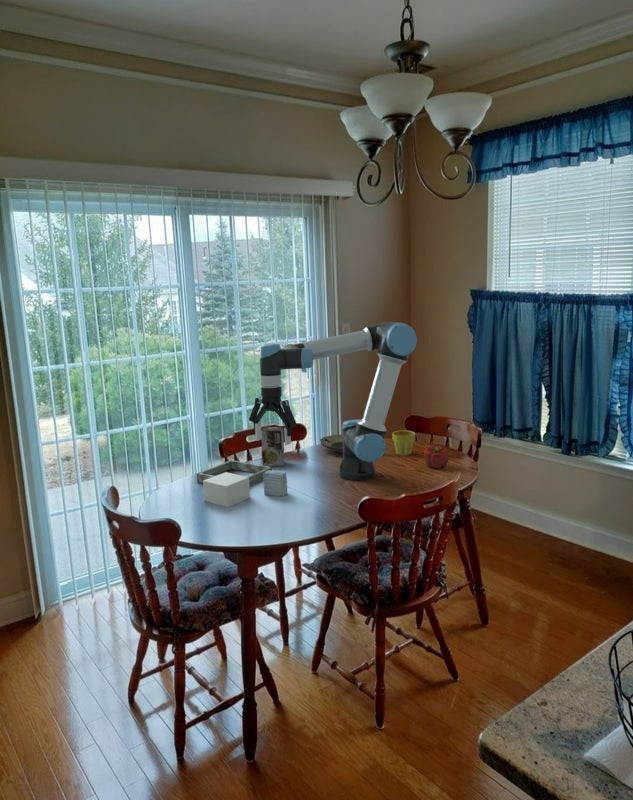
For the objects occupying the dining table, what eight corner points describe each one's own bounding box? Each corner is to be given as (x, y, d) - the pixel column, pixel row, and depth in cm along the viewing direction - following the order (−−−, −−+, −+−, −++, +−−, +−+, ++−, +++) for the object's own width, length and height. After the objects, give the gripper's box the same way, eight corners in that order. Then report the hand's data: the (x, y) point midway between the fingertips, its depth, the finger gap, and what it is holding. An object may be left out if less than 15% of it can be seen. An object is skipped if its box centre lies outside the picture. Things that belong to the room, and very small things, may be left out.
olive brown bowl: (344, 441, 302) (343, 426, 301) (388, 453, 280) (388, 437, 278) (310, 450, 288) (309, 435, 286) (354, 463, 265) (353, 446, 264)
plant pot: (409, 458, 271) (409, 436, 269) (388, 454, 277) (388, 434, 275) (418, 452, 280) (418, 431, 278) (398, 449, 285) (398, 429, 283)
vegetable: (449, 471, 250) (449, 448, 248) (424, 471, 252) (424, 448, 250) (448, 464, 261) (448, 441, 259) (423, 463, 263) (423, 441, 261)
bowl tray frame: (272, 475, 252) (272, 467, 252) (239, 490, 235) (239, 482, 234) (231, 467, 264) (231, 460, 264) (197, 481, 247) (196, 473, 246)
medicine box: (287, 493, 231) (286, 471, 229) (283, 497, 226) (282, 474, 225) (268, 491, 233) (267, 469, 231) (263, 495, 229) (262, 473, 227)
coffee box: (285, 461, 271) (283, 426, 268) (282, 466, 265) (281, 430, 261) (265, 461, 272) (263, 426, 269) (262, 466, 265) (260, 430, 262)
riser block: (250, 497, 227) (248, 477, 226) (227, 507, 218) (226, 486, 216) (227, 491, 234) (225, 472, 233) (204, 501, 225) (202, 480, 223)
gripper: (305, 387, 218) (306, 443, 222) (250, 382, 232) (253, 435, 236) (293, 390, 212) (294, 448, 216) (238, 385, 225) (240, 440, 229)
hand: (273, 442), depth 226 cm, fingers open, 13 cm apart
